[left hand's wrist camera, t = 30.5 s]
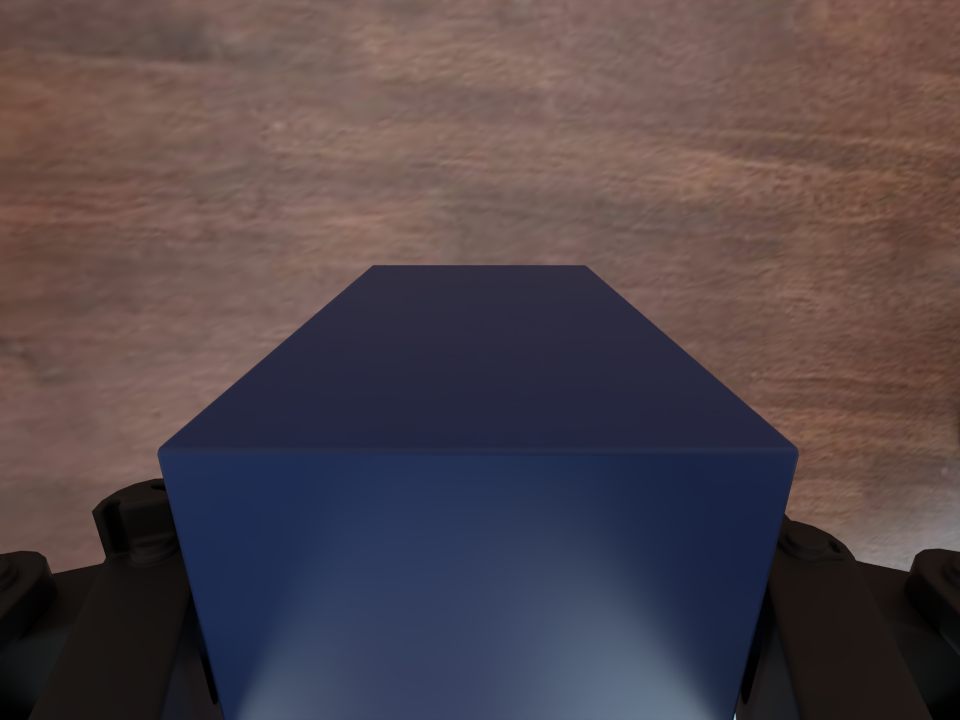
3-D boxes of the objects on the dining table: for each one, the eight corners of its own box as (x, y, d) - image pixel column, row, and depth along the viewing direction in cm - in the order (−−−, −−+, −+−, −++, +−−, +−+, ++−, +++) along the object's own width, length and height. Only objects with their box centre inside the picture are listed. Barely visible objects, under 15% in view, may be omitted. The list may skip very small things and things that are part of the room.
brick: (372, 264, 16) (152, 449, 5) (586, 264, 16) (803, 449, 5) (386, 464, 18) (257, 866, 8) (572, 464, 18) (699, 865, 8)
